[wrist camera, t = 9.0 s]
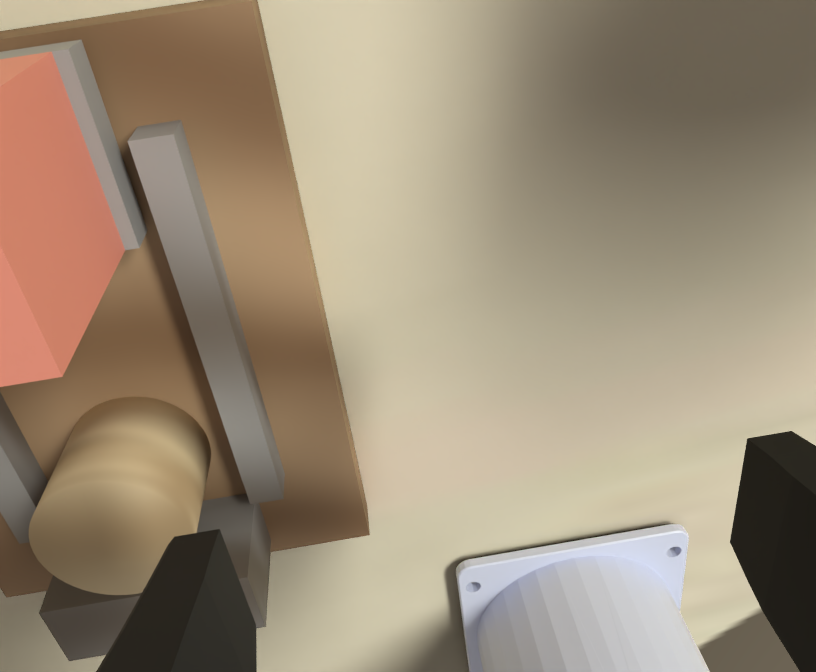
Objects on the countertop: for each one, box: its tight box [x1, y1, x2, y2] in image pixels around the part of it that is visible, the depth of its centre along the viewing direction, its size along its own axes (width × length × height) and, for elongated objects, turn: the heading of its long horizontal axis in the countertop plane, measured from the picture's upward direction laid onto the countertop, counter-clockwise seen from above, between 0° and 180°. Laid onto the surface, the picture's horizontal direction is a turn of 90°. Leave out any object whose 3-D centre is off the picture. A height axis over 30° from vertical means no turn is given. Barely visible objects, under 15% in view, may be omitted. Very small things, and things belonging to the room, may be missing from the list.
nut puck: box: [29, 396, 211, 595], centre depth 18 cm, size 4×4×3 cm
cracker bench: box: [0, 0, 370, 661], centre depth 17 cm, size 15×11×4 cm
